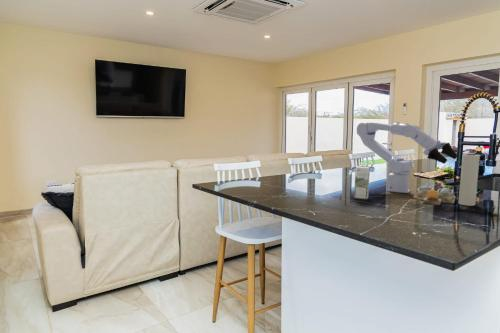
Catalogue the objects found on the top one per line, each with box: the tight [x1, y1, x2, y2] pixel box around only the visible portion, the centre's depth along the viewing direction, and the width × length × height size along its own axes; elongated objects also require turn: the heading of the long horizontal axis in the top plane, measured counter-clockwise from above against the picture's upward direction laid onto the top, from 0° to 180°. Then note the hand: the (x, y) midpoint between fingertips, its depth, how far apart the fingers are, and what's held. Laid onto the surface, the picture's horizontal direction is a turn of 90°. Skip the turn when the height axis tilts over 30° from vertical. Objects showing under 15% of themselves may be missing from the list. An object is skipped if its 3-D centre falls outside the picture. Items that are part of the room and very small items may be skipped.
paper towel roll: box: [458, 153, 481, 207], centre depth 144 cm, size 7×6×21 cm
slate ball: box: [421, 185, 431, 191], centre depth 161 cm, size 4×4×4 cm
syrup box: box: [353, 165, 371, 200], centre depth 156 cm, size 6×6×14 cm
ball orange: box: [428, 189, 438, 199], centre depth 148 cm, size 4×4×4 cm
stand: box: [422, 197, 442, 206], centre depth 148 cm, size 6×6×2 cm
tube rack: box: [412, 186, 457, 204], centre depth 157 cm, size 16×13×4 cm
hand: (451, 159), depth 153 cm, fingers open, 7 cm apart
